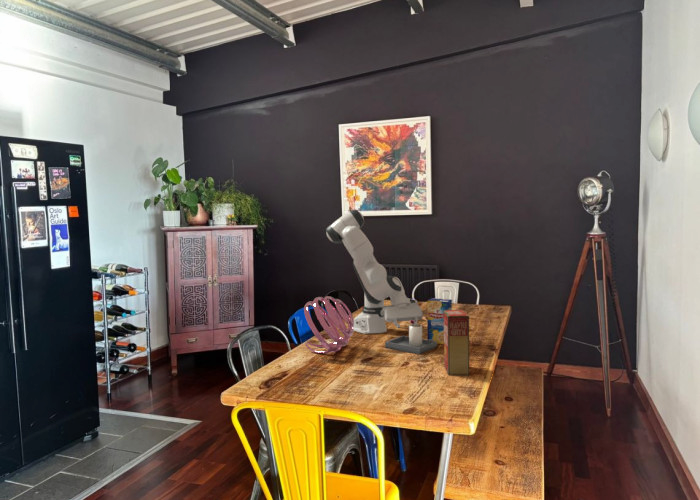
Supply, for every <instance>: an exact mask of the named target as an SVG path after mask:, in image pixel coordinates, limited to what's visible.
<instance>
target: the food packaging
mask: <svg viewBox="0 0 700 500" xmlns="http://www.w3.org/2000/svg"><path fill="white" fill-rule="evenodd" d="M443 312H444V344H443V356H444V357H443V367H444V369H445V370H444V371H446V374H447V376H470V316H469V315H468V314H467V313H466V312H465V310H463V309H452V310H444V311H443Z"/></svg>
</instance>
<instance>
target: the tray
mask: <svg viewBox="0 0 700 500" xmlns="http://www.w3.org/2000/svg"><path fill="white" fill-rule="evenodd" d="M384 347H385V349H390V350H394V351H398V352H399V351H400V352H404V353H410V354H415V355H422V354H424V353H426V352H430V351H431V350H435V349H436V348H438V347H437V341H431V340H427V339H424V338H422V347H420V348H417V347H412V346H409V335H408V336H407V335H401V336H398V337H396V338H393V339H392V338H391V339H389V340H387V341H385V342H384Z"/></svg>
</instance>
